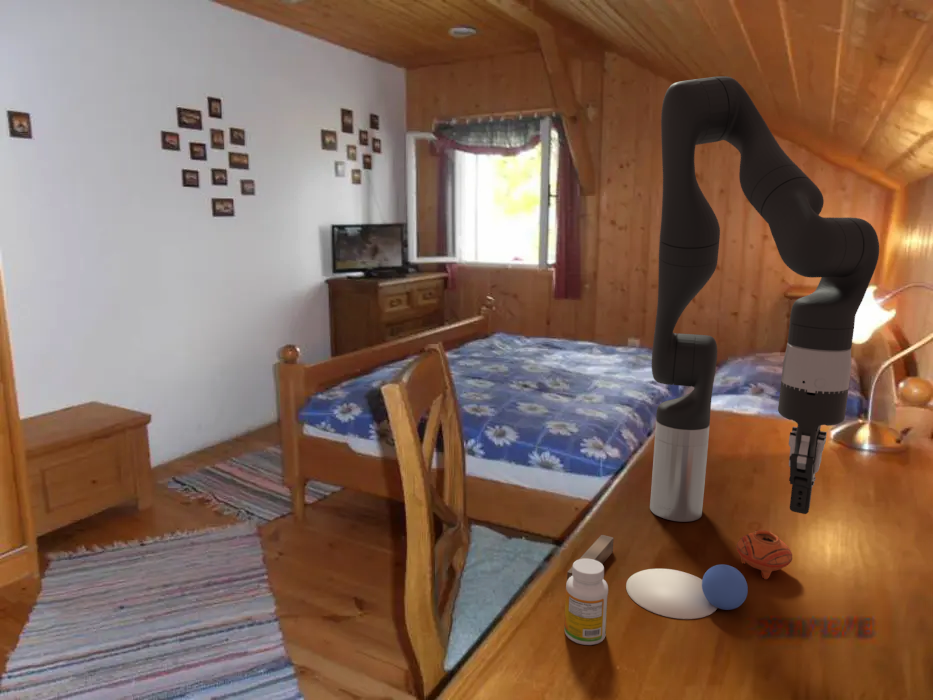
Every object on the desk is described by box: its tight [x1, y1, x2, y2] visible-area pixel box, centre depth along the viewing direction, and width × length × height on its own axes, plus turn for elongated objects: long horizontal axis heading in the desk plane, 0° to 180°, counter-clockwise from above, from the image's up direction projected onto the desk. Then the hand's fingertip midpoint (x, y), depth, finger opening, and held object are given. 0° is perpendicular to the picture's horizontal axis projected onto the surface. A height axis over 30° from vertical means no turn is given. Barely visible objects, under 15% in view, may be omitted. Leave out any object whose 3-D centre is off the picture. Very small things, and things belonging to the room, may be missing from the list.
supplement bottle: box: [563, 558, 609, 646], centre depth 88 cm, size 5×5×10 cm
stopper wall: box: [566, 534, 615, 581], centre depth 105 cm, size 14×2×2 cm, turn 148°
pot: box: [736, 529, 793, 580], centre depth 105 cm, size 8×8×7 cm
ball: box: [701, 563, 749, 611], centre depth 95 cm, size 6×6×6 cm
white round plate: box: [625, 568, 718, 620], centre depth 99 cm, size 13×13×1 cm
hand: (799, 510), depth 88 cm, fingers closed
